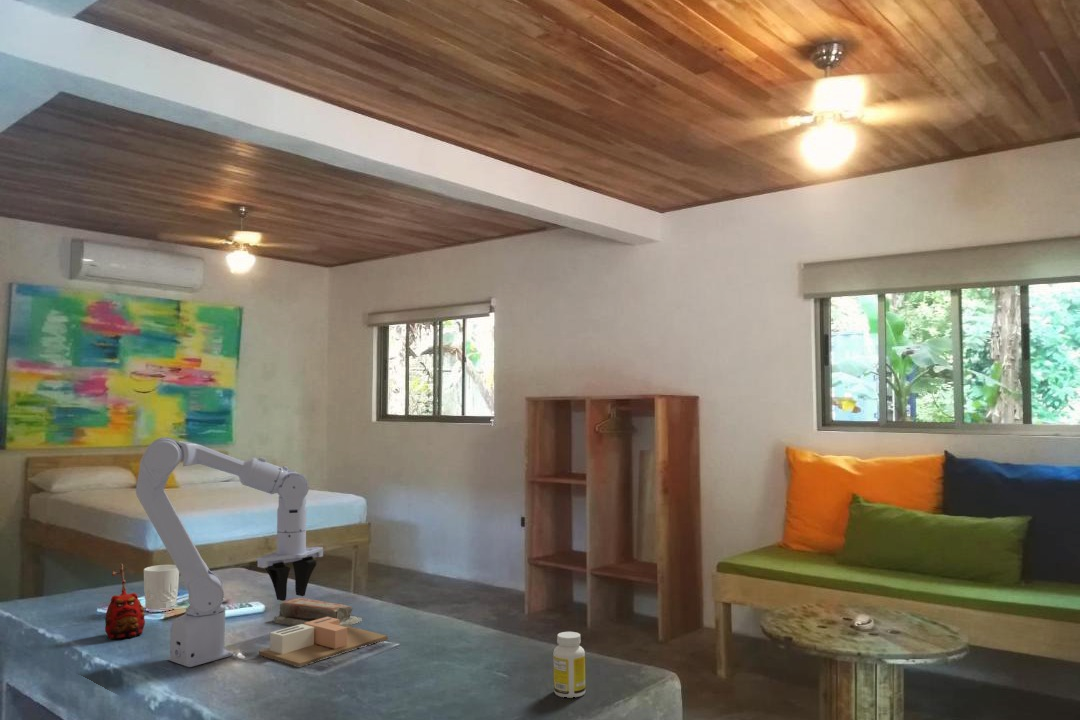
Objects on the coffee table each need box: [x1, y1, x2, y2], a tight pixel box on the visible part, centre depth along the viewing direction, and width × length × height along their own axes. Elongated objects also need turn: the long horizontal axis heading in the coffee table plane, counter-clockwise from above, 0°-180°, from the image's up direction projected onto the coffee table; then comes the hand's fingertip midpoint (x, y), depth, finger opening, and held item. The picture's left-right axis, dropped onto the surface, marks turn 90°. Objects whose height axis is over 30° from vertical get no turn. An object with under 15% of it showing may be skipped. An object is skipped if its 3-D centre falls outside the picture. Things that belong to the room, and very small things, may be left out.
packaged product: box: [273, 597, 363, 627], centre depth 183 cm, size 18×5×10 cm
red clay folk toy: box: [104, 563, 146, 640], centre depth 173 cm, size 8×7×15 cm
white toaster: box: [269, 624, 314, 654], centre depth 161 cm, size 8×4×4 cm, turn 143°
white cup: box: [143, 564, 180, 609], centre depth 194 cm, size 8×8×10 cm
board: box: [258, 626, 389, 666], centre depth 163 cm, size 22×13×1 cm, turn 143°
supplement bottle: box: [552, 631, 586, 699], centre depth 137 cm, size 5×5×10 cm
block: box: [304, 617, 347, 649], centre depth 165 cm, size 6×10×4 cm, turn 53°
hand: (290, 597), depth 164 cm, fingers open, 4 cm apart
